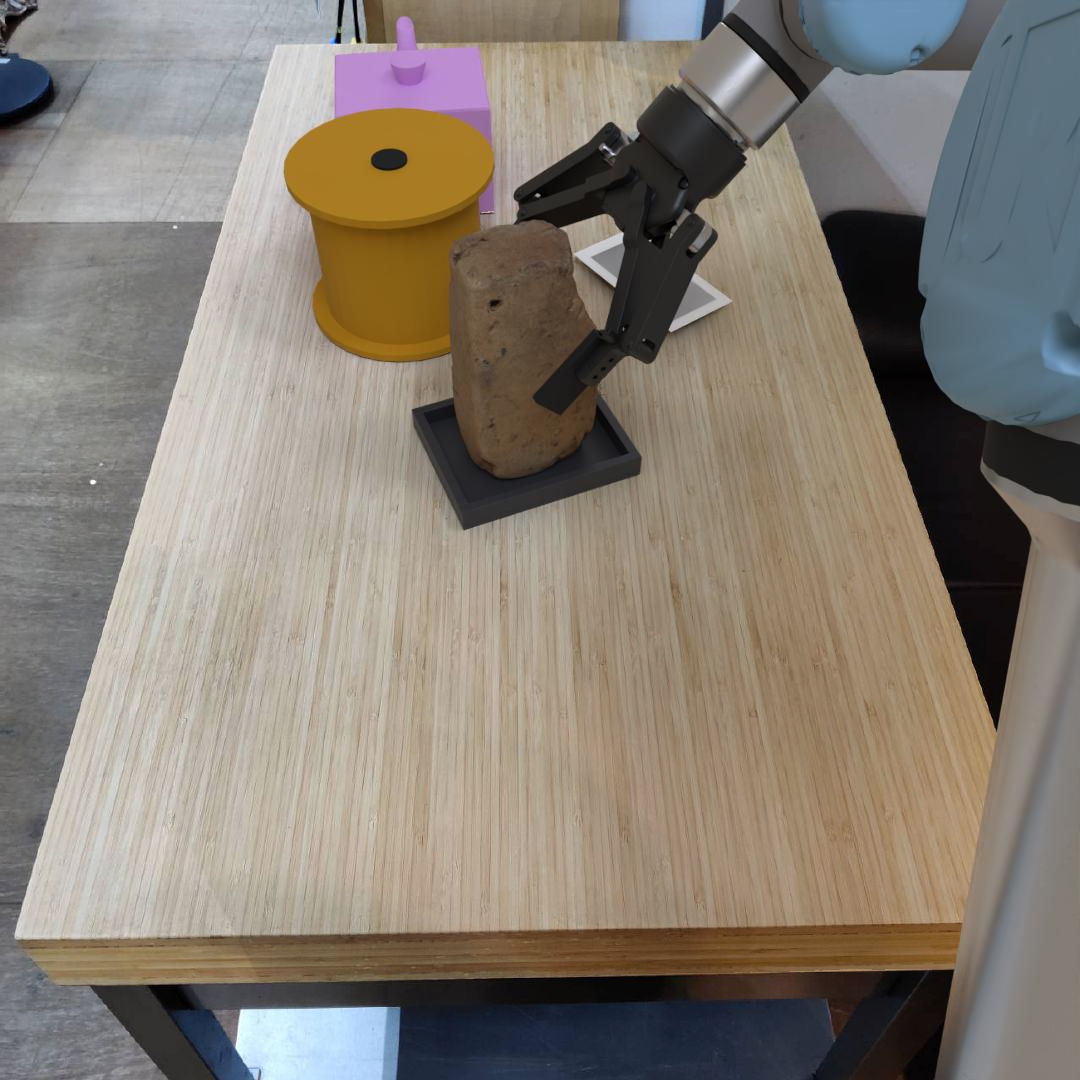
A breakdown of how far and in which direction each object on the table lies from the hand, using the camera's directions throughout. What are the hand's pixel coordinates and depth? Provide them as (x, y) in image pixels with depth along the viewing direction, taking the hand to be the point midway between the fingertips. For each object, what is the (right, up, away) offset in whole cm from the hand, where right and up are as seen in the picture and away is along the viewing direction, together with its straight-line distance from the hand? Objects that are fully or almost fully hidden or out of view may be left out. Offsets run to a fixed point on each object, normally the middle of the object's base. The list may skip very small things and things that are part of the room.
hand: (510, 348), depth 74 cm
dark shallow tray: (+1, -7, +9) cm, 12 cm away
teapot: (-11, +26, +35) cm, 45 cm away
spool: (-11, +9, +22) cm, 26 cm away
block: (+1, -7, +9) cm, 11 cm away
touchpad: (+13, +11, +24) cm, 29 cm away
